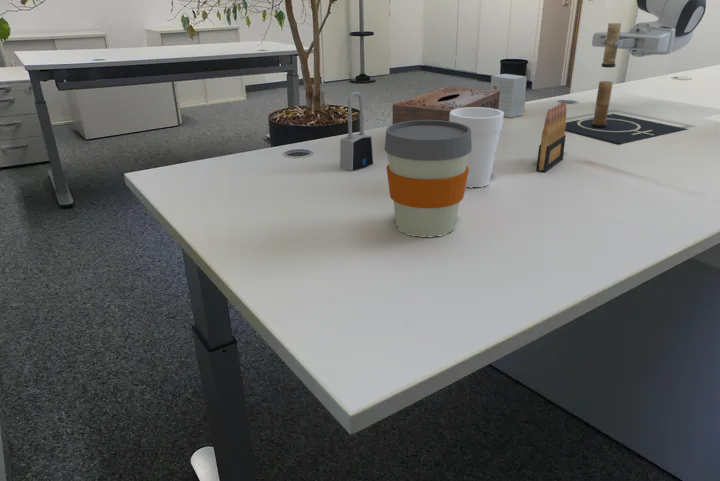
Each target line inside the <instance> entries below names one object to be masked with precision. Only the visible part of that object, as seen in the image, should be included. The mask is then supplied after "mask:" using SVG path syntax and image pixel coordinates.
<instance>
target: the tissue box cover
mask: <svg viewBox="0 0 720 481" xmlns="http://www.w3.org/2000/svg"><path fill="white" fill-rule="evenodd" d="M499 97H500V91H492V90H491V89H480V88H479V89H476V88H466V87H452V86H444V87H440V88H437V89H434V90H432V91H429V92H426V93H423V94H419V95H417V96H414V97H411V98H408V99H405V100H402V101H400V102H396V103H393V104H392V125H393V124H397V123H401V122H406V121H416V120H441V121H449V116H450V112H451V110H454V109H457V108H466V107H483V108H492V109H497V110H498V109H499Z"/></svg>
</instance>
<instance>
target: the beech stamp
mask: <svg viewBox="0 0 720 481" xmlns="http://www.w3.org/2000/svg"><path fill="white" fill-rule="evenodd" d="M613 84H614V83H613V81H608V80H607V81H606V80H604V81H603V80H602V81H599V82H598V88H597V95H596V101H595V108H594V112H593V113H594V114H593V117H594V120H593V123H592V127H594V128H606V126H607V124H606V120H607V115H609V108H610V101H611V96H612V90H613Z"/></svg>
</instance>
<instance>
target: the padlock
mask: <svg viewBox="0 0 720 481" xmlns="http://www.w3.org/2000/svg"><path fill="white" fill-rule="evenodd" d="M354 97H358V104H359V105H358V107H359V131H358V132H359V133H353V126H352V125H353V122H352V120H353V118H352V117H353V116H352V102H353V99H354ZM363 102H364V101H363V96H362V94H361V93H360V92H359V91H354V92H352V93H350V95H349V96H348V98H347V125H348V126H347V127H348V128H347V130H348V134H347V135H346V136H344V137H342V138H340V142H339V143H340V145H339V146H340V147H339V148H340V149H339V168H340V169H341V170H345V171H349V172H355V171H358V170H361V169H366V168H367V167H369V166H372V165H373V164H374V151H373V150H374V149H373V148H374V147H373V136H372V135H368V134H365V130H364V103H363Z"/></svg>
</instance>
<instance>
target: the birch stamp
mask: <svg viewBox="0 0 720 481" xmlns="http://www.w3.org/2000/svg"><path fill="white" fill-rule="evenodd" d="M621 28H622V23H621V22H608V24H607V31H606V32H607V37H606V44H605V47H604V52H603V57H602V63H601V68H615V67H616V64H617V63H616V59H617V54H618V53H617V52H618V48H617V47H614V44H615V40H619V34H620V32H621Z"/></svg>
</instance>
